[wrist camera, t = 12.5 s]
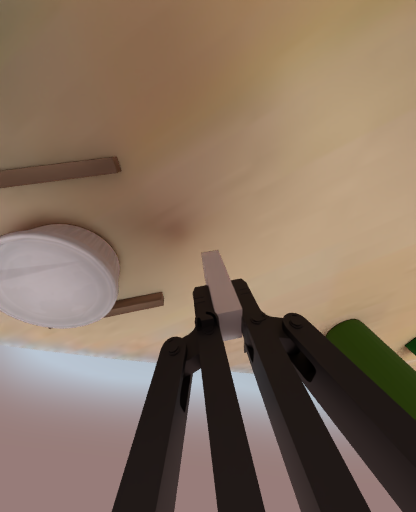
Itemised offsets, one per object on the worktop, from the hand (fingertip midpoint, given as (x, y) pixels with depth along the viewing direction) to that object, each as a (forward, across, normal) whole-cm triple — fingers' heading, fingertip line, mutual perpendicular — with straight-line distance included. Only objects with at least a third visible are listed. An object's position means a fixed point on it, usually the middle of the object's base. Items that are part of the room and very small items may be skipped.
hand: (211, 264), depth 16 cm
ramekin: (+7, -15, -1) cm, 17 cm away
